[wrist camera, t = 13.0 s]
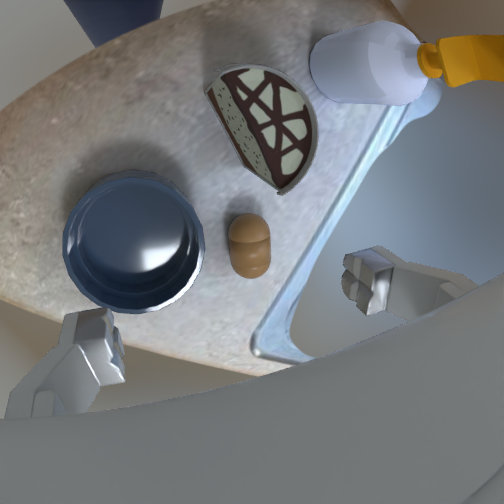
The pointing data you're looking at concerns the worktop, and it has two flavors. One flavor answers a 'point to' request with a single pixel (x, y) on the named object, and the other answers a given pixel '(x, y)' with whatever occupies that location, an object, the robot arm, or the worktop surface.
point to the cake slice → (266, 122)
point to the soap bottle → (399, 63)
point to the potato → (249, 245)
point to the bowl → (133, 242)
